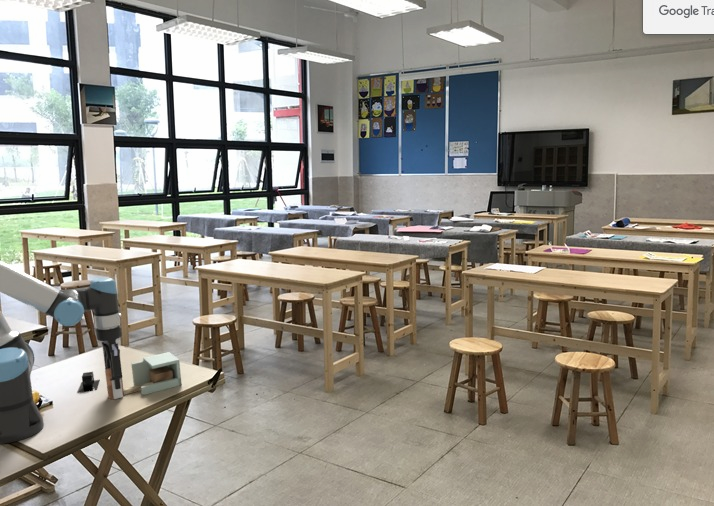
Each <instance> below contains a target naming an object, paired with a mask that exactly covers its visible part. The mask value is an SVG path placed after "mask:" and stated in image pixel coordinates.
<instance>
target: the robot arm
mask: <svg viewBox="0 0 714 506" xmlns="http://www.w3.org/2000/svg"><path fill="white" fill-rule="evenodd" d="M117 289H118V288H117V283H116V280H115V279H114V278H112V277H99V278H95V279H92V280H90V282H89V286H87V287H85V286H84V287H79V288H70V289H69V288H68V289H58V288H56V287H54V286H52V285H50V284H48V283H46V282H44V281H42V280H40V279H38V278H36V277H34V276H32V275H30V274H29V273H26V272H24V271H22V270H20V269H18V268H16V267H14V266H12V265H10V264H8V263H6V262H4V261H2V260H0V293H2V294H4V295H5V296H8V297H11V298H12V299H14V300H17V301H18V302H20V303H23V304H24V305H26V306H29V307H31V308H33V309H35V310H37V311H39V312H41V313H43V314H46V315H48V316H50V317H51V318H54V320H55V321H56V322H57V323H58V324H60V325H61V326H64V327H72V326H75V325H77V324H78V323H80V322H81V320H82V318H83V317H84V314H85V312H91V311H92V312H93V320H94V327H95V334H96V340H98V342H99V341H100V342H101V346H102V351H103V353H102V354H103V362H104V369H105V370H106V369H108V368H111V373H112V378H111V379H110V381H112V388H113V397H114V399H113V400H116V399H120V398H123V397H124V396H123V393H122V384H121V378H122V379H123V372H122V370H123V369H122V363H121V350H120V348H119V344H118V343H117V342H116V341H117V340H119V339H120V338H121V337H122V336H123V335H122V334H123V333H122V326H121V325H120V324H121V319H120V318H121V317H122V314H121V313H120V309H119V299H118V298H119V297H118V296H119V295H118V290H117ZM34 364H35V353H34V350H33V348H32V347H31V345H30V344H29V343H27V342H26V341H25V340H24V338H23V336H22V335H21V333H20V332H19V331H17V330H14V329H11V327H10V325H9V323H8V321H7V320H6V318H5V316H4V314H3V313H2V311H1V310H0V445H3V444H9V443H14V442H18V441H21V440H24V439H27V438H30V437H32V436H34V435H36V434H37V433H39V432H41V430H42V429H43V428H44V425H45V423H44V418H43V416H42V413H41V412H40V410H39V408H38V406H37V405H36V403H35V401H34V396H33V395H34V394H33V389H32V381H31V380H32V379H31V373H32V370H33V367H34Z"/></svg>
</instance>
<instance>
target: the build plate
mask: <svg viewBox="0 0 714 506" xmlns="http://www.w3.org/2000/svg"><path fill="white" fill-rule="evenodd" d="M81 380H82V382H81V383H80V384H79V387H78V389H77V390H76V391H77V392H76V394H81V393H88V392H96V391H97V390H98V387H99V384H100V382H101V380H100V379H95V375H94V371H89V372H88V371H87V372H83V373H82V376H81Z"/></svg>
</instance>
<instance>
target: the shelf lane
mask: <svg viewBox="0 0 714 506" xmlns="http://www.w3.org/2000/svg"><path fill="white" fill-rule="evenodd" d="M130 365H131V371H132V373H131V374H132V380H133V381H132V382H133V387H134V386H138V385H142V384H146V383H150V373H149V370H151V369H156V368H160V367H164V366H167V367H169V368H170V369H171V370H172V372H173V379H170V380H166V381H162V382H158V383H154V384H150V385H146V386H142V387H141V391H140V392H141V395H142V396H144V395H145V396H146V395H147V394H148V395H149V394H152V393H153V394H154V393H156V392H160V391H163V390H164V391H165V390H168V389H173V388H175V387H180V386H182V374H181V364H180V359H179V358H178V357H177V356H175V355H174V354H173V353H171V352H170V351H168V352H163V353H158V354H154V355H150V356H144V357H143V358H142V360H140V361H136V362H131V364H130Z"/></svg>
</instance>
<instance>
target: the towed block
mask: <svg viewBox="0 0 714 506" xmlns="http://www.w3.org/2000/svg"><path fill="white" fill-rule="evenodd" d="M104 372H105V379H106V380H105V381H106V390H107V398H108V399H109V400H110V399H111V400H115V399H114V397H113V388H112V381H110V379H111V378H112V373H111V368H108V369H106V370H105V371H104ZM149 373H150V383H146V384H142V385H138V386H134V385H133V386H131V387H125V388H124V383H123V382H124V381H123V377H122V378H121V384H122V393H123V397H124V395H128V394H129V395H130V394H132V393H136V392H137V393H138V392H141V387H142V386H146V385H150V384H154V383H158V382H162V381H166V380H170V379H173V372H172V370H171V369H170V368H169V367H167V366H164V367H160V368H156V369H151V370H149Z"/></svg>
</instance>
